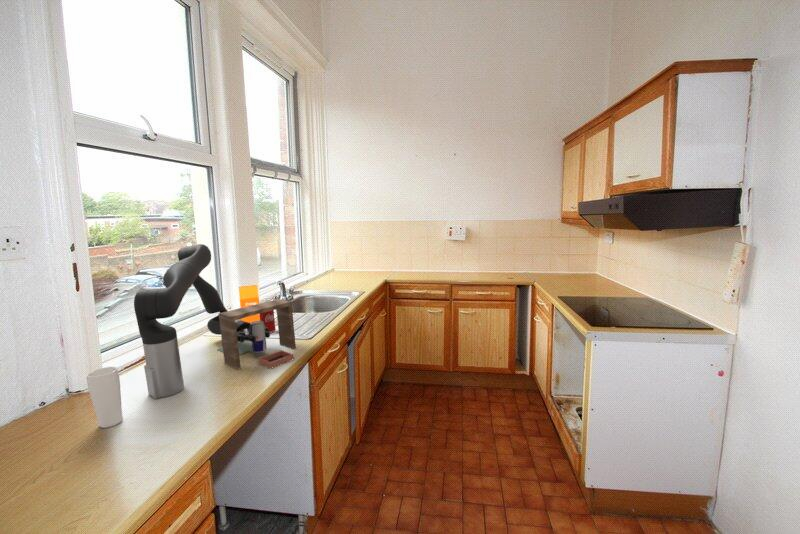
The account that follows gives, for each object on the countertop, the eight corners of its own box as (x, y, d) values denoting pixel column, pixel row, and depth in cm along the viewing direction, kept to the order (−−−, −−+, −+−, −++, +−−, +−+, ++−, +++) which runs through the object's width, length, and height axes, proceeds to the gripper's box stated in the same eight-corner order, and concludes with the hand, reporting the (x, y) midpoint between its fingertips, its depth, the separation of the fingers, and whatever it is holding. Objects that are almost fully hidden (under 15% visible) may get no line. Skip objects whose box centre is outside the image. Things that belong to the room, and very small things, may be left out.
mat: (233, 357, 151) (233, 356, 150) (217, 349, 159) (216, 349, 159) (266, 346, 161) (266, 345, 161) (248, 340, 170) (248, 339, 170)
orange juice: (262, 325, 191) (257, 286, 188) (242, 328, 187) (238, 288, 184) (261, 321, 198) (257, 283, 195) (242, 324, 195) (238, 285, 192)
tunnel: (236, 369, 138) (230, 317, 135) (224, 364, 144) (218, 313, 141) (295, 348, 157) (291, 301, 154) (283, 344, 163) (278, 298, 160)
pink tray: (270, 368, 138) (269, 363, 137) (258, 363, 143) (257, 358, 142) (294, 359, 145) (293, 354, 145) (281, 355, 150) (281, 350, 150)
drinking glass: (121, 414, 111) (113, 364, 108) (129, 421, 106) (121, 370, 104) (92, 425, 105) (83, 373, 103) (99, 433, 101) (89, 379, 99)
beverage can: (271, 334, 176) (268, 309, 174) (258, 334, 177) (256, 309, 175) (278, 330, 182) (275, 305, 180) (266, 330, 183) (263, 305, 181)
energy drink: (249, 353, 150) (246, 323, 148) (260, 348, 155) (257, 319, 153) (259, 355, 147) (256, 325, 145) (270, 350, 152) (267, 321, 150)
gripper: (221, 325, 153) (243, 333, 142) (254, 316, 164) (277, 323, 153) (223, 343, 154) (245, 352, 143) (256, 333, 165) (279, 341, 154)
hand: (261, 337), depth 148 cm, fingers closed on energy drink, 5 cm apart
